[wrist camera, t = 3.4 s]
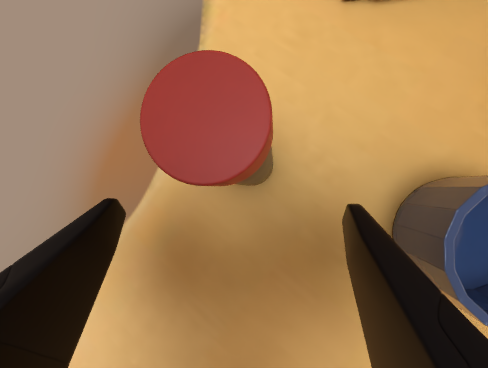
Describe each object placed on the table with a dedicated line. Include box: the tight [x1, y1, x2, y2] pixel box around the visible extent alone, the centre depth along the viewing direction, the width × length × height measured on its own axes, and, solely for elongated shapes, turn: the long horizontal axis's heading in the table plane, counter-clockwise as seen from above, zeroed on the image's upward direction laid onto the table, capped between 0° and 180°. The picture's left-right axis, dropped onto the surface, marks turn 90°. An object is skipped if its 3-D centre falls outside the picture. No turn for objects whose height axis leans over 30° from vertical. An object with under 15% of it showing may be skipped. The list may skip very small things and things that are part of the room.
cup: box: [393, 176, 488, 326], centre depth 14 cm, size 8×8×6 cm
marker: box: [140, 50, 273, 186], centre depth 13 cm, size 4×4×13 cm
